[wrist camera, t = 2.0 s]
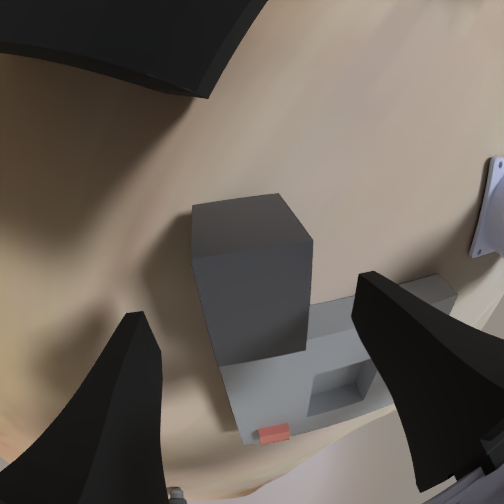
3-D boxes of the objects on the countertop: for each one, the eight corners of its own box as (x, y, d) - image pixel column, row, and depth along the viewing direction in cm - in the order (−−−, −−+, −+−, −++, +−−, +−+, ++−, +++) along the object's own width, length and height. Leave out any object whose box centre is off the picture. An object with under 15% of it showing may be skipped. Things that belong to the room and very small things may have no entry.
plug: (272, 185, 12) (313, 240, 8) (276, 277, 15) (305, 350, 11) (192, 196, 12) (190, 259, 8) (210, 288, 15) (218, 366, 10)
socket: (438, 273, 18) (464, 301, 15) (392, 381, 25) (405, 405, 22) (212, 322, 16) (218, 369, 13) (239, 422, 23) (245, 452, 21)
